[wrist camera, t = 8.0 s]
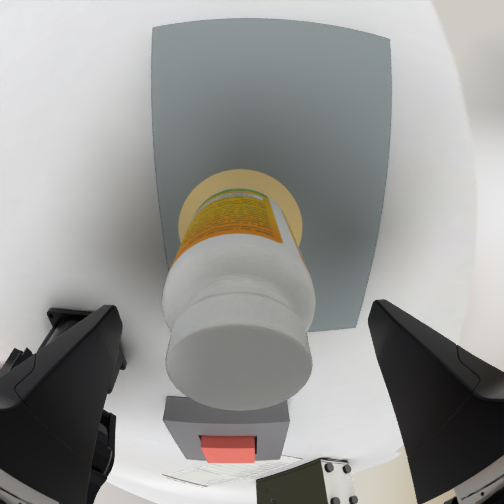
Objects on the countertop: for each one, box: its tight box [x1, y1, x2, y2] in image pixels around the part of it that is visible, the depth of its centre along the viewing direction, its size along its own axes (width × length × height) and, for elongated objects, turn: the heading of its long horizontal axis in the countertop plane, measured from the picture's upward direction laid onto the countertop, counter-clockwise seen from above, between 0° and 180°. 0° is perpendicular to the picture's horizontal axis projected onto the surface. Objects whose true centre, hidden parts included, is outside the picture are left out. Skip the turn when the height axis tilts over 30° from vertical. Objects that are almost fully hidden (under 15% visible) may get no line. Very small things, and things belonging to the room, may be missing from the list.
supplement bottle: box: [162, 187, 316, 411], centre depth 11 cm, size 5×5×10 cm
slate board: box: [151, 18, 392, 332], centre depth 15 cm, size 13×20×1 cm, turn 0°
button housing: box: [163, 396, 290, 461], centre depth 26 cm, size 12×12×3 cm
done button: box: [201, 435, 255, 463], centre depth 24 cm, size 5×5×2 cm
